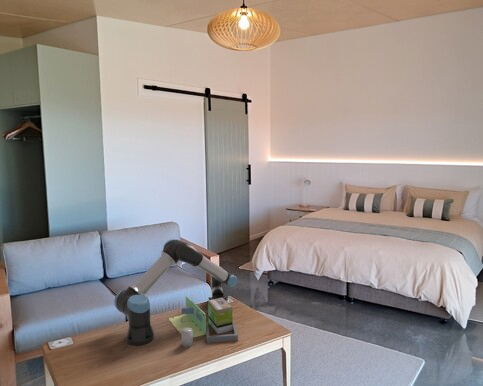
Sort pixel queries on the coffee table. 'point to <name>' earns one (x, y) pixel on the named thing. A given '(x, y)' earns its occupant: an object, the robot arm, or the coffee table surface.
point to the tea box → (220, 315)
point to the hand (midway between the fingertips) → (220, 309)
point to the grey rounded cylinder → (187, 337)
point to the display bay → (222, 336)
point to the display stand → (191, 319)
